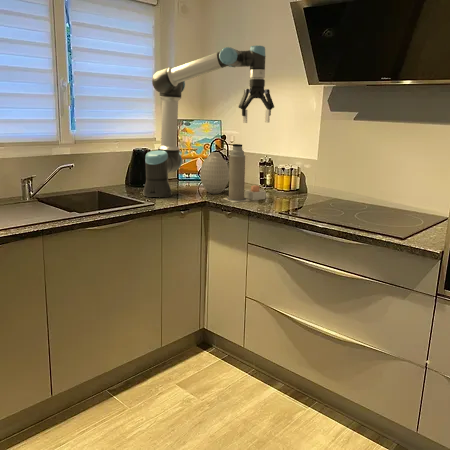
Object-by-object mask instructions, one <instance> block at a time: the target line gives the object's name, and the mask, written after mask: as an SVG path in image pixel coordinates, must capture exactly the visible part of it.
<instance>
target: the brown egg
mask: <svg viewBox="0 0 450 450" xmlns="http://www.w3.org/2000/svg"><path fill="white" fill-rule="evenodd" d="M250 190H251V191H253V192H258V191H259V190H261V189H260V185H255V184H254V185H251V186H250Z"/></svg>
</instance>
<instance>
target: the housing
mask: <svg viewBox="0 0 450 450" xmlns="http://www.w3.org/2000/svg"><path fill="white" fill-rule="evenodd" d="M266 196H267V192H266V190H263V189H259V191H258V192H253V191H251V189H244V198H246V199H249V200H250V201H258V200H266Z"/></svg>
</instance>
